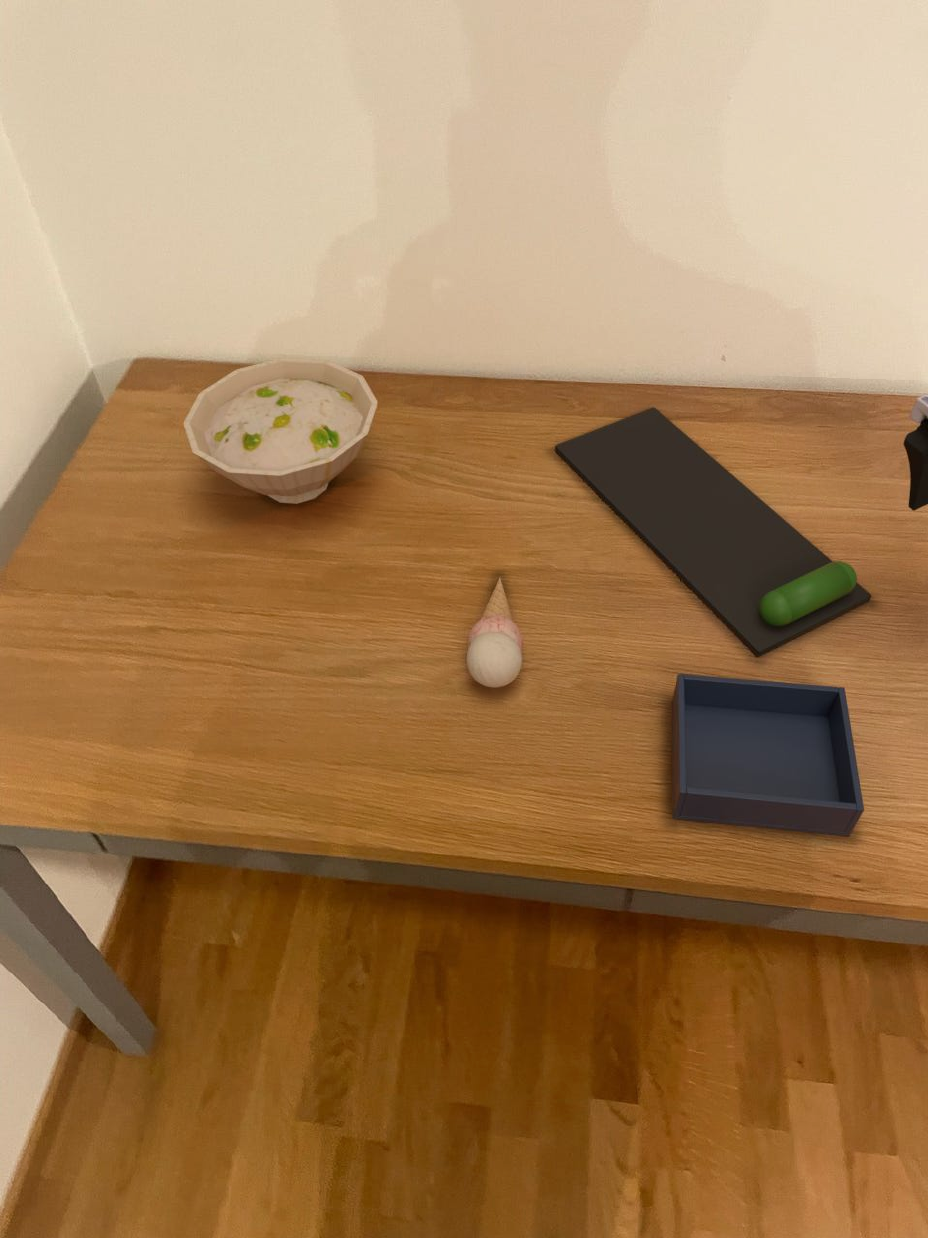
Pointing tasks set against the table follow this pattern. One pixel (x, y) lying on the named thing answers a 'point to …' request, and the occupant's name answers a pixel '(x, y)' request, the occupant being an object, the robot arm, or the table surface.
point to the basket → (764, 755)
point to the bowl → (282, 426)
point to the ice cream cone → (495, 644)
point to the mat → (702, 523)
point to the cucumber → (807, 593)
